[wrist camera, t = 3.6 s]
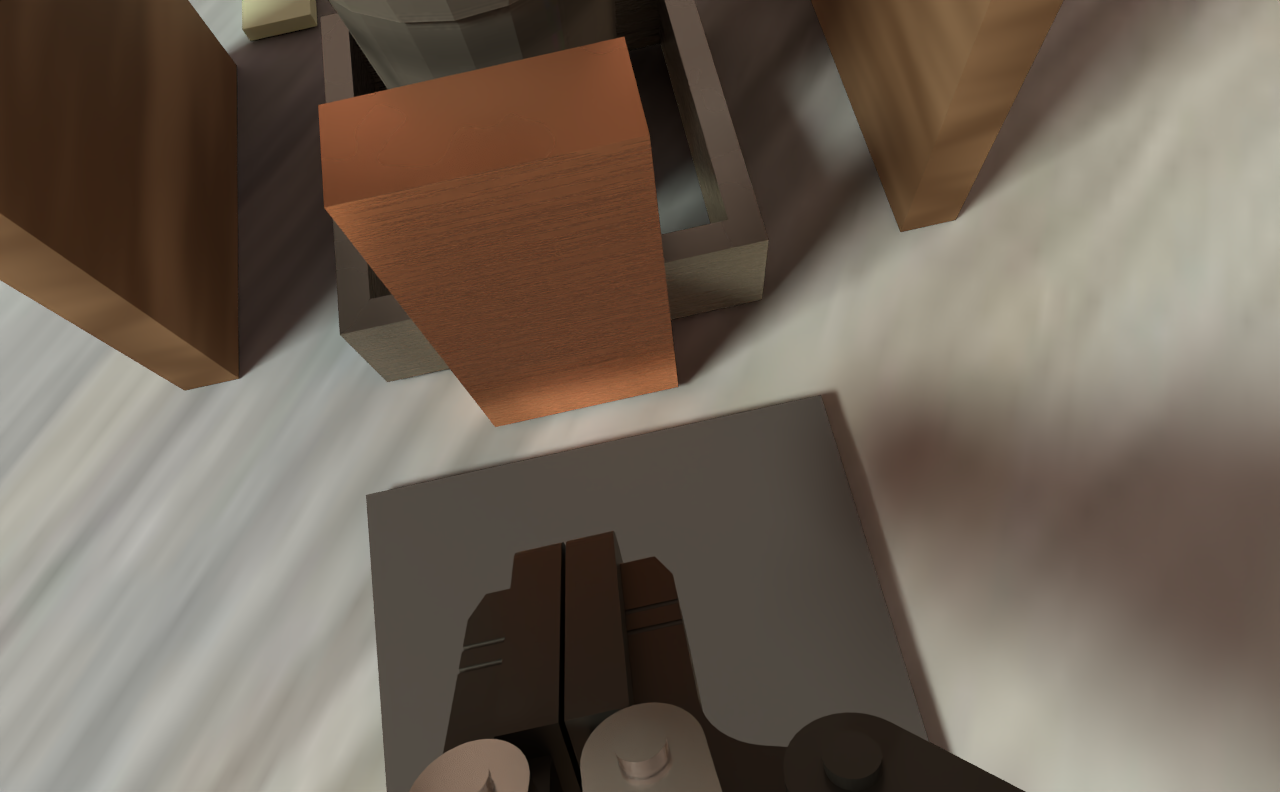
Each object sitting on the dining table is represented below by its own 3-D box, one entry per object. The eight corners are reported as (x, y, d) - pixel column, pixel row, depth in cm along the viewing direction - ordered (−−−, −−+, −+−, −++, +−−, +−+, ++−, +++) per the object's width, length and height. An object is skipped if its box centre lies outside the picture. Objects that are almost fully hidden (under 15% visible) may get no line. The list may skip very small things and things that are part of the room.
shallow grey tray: (679, 20, 26) (659, -365, 17) (780, 364, 21) (832, 94, 12) (362, 90, 26) (166, -254, 17) (393, 449, 21) (142, 248, 12)
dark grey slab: (818, 403, 21) (820, 395, 20) (947, 823, 17) (955, 826, 17) (375, 500, 21) (366, 495, 20) (408, 939, 17) (397, 947, 17)
